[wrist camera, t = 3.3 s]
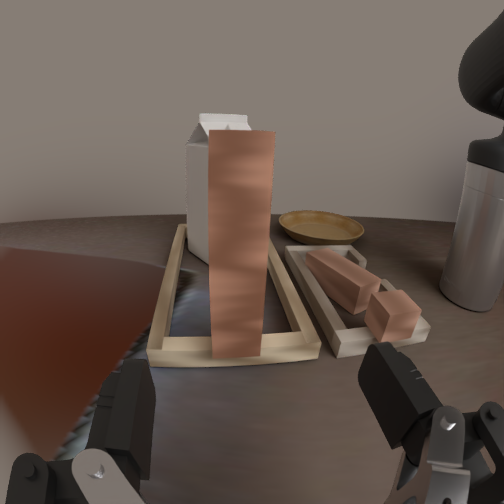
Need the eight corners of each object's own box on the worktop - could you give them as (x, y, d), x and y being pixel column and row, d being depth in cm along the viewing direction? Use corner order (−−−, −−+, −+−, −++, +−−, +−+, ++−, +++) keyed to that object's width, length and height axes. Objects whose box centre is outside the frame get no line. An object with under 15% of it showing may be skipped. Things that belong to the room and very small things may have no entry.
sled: (261, 233, 49) (266, 129, 42) (320, 366, 22) (361, 140, 15) (179, 234, 47) (177, 129, 40) (148, 374, 20) (114, 135, 13)
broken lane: (349, 256, 42) (354, 225, 40) (429, 346, 24) (447, 305, 22) (284, 257, 41) (287, 225, 39) (340, 365, 22) (354, 319, 20)
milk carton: (187, 251, 42) (186, 114, 34) (228, 241, 46) (231, 115, 38) (214, 270, 37) (215, 112, 29) (258, 257, 41) (265, 115, 33)
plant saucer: (377, 252, 45) (380, 237, 44) (294, 257, 42) (295, 240, 41) (338, 222, 58) (340, 210, 57) (268, 223, 55) (269, 210, 54)
